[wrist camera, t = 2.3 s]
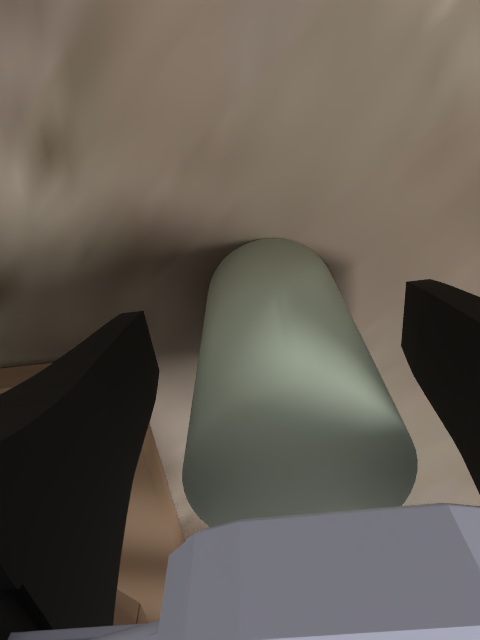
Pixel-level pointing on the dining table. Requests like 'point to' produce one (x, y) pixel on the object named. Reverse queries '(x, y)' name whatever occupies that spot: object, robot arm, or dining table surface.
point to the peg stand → (135, 527)
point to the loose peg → (288, 397)
